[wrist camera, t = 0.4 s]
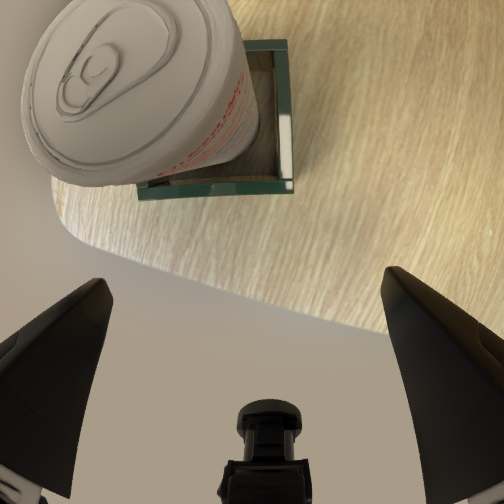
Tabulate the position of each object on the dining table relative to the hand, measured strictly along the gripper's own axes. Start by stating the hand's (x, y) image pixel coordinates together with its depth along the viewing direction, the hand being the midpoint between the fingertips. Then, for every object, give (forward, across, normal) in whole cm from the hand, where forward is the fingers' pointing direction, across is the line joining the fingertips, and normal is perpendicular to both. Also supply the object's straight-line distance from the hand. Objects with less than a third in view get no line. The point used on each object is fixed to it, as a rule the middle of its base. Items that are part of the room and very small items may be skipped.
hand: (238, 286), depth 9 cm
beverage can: (+14, +2, -3) cm, 14 cm away
